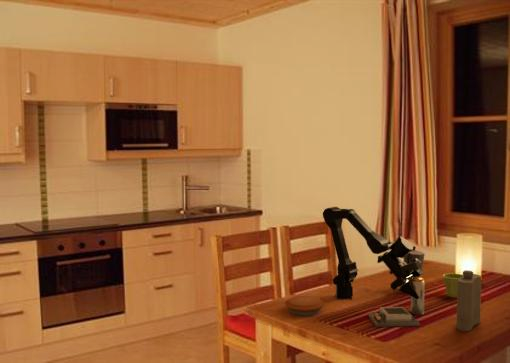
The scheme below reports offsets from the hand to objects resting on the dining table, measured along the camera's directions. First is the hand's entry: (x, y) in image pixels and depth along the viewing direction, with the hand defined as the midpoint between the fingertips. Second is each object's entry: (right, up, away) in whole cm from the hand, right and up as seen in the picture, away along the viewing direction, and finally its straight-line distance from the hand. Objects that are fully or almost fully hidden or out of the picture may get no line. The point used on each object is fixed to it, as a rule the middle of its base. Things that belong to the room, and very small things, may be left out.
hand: (421, 296), depth 212 cm
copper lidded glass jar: (-1, -7, +1) cm, 7 cm away
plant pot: (+21, -5, +24) cm, 32 cm away
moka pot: (+6, -4, +31) cm, 32 cm away
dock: (-13, -7, -8) cm, 17 cm away
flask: (+13, -8, -13) cm, 20 cm away
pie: (-45, -7, +4) cm, 46 cm away
